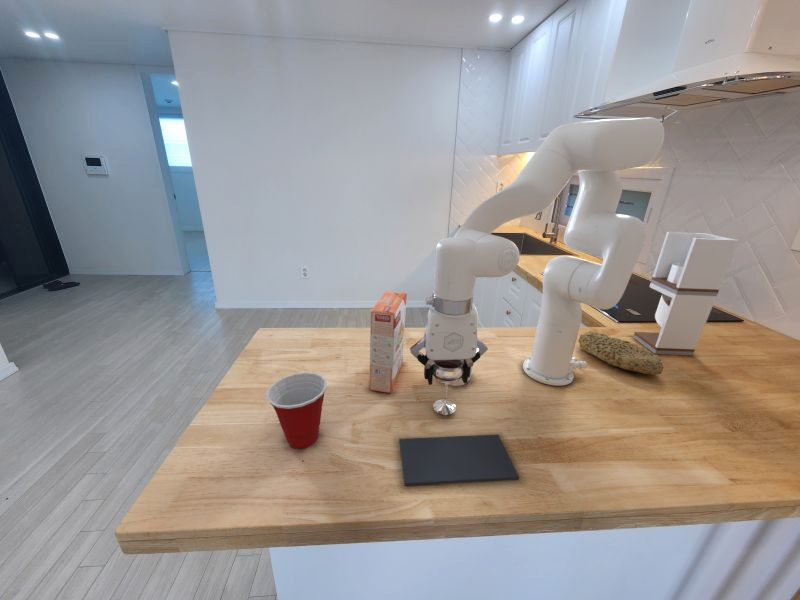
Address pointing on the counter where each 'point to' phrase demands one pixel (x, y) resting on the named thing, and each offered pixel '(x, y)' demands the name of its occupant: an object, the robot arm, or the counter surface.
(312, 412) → the plastic cup
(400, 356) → the cracker box
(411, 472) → the placemat
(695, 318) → the white shelf stand
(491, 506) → the counter surface
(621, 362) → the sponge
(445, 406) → the wineglass
